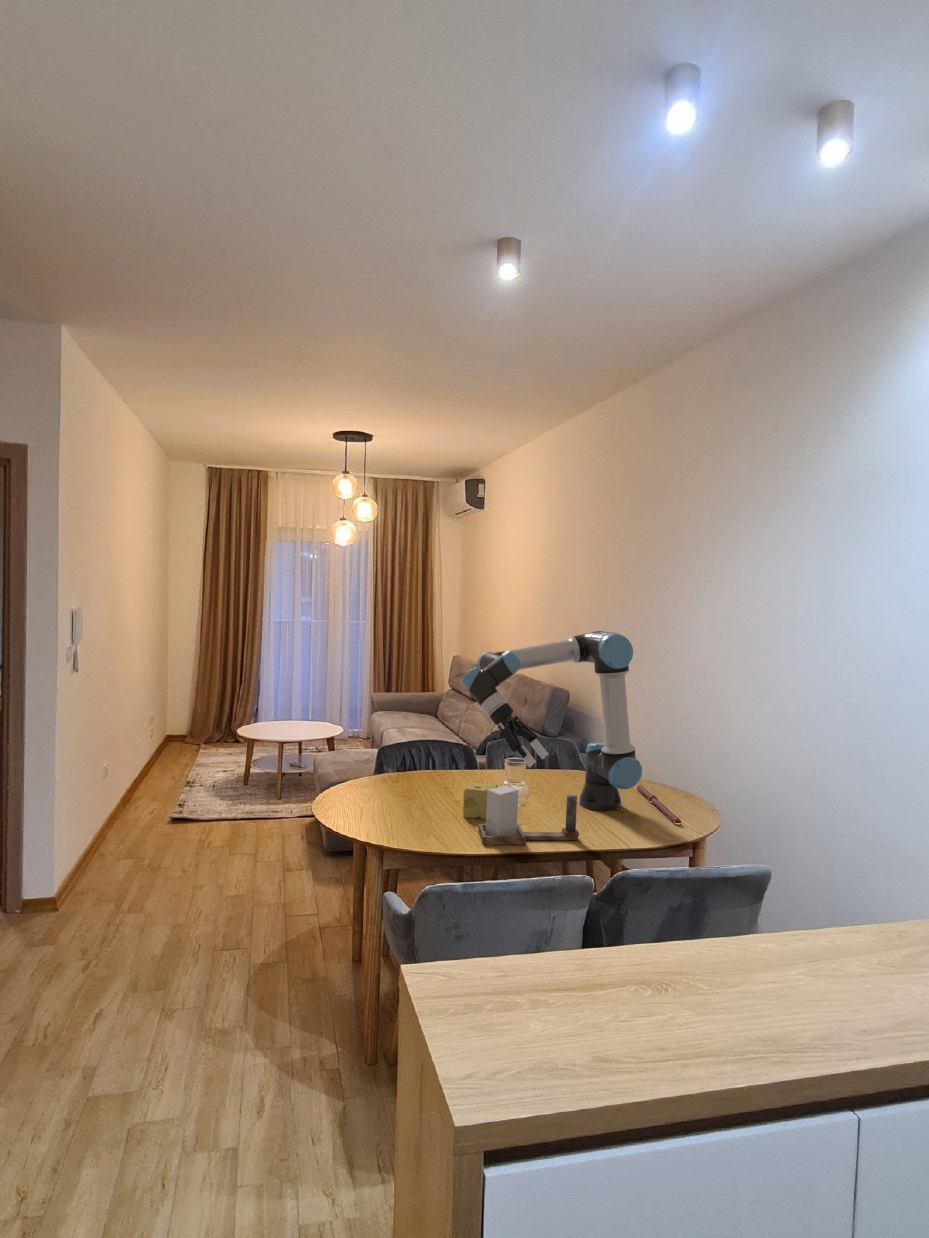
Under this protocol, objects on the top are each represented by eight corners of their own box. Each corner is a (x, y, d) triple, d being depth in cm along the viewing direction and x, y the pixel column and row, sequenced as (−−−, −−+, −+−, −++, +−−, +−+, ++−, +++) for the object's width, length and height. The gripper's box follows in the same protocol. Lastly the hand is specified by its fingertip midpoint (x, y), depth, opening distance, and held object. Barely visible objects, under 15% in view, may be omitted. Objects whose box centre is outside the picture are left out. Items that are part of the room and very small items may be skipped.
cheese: (492, 820, 260) (493, 791, 260) (461, 817, 262) (462, 788, 262) (497, 812, 270) (498, 783, 270) (467, 809, 273) (468, 781, 272)
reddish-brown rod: (635, 791, 307) (635, 783, 307) (643, 791, 307) (643, 783, 307) (673, 826, 262) (673, 817, 262) (682, 826, 262) (682, 817, 262)
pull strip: (572, 831, 251) (574, 790, 250) (581, 844, 238) (583, 801, 237) (478, 830, 248) (479, 789, 247) (482, 844, 235) (484, 800, 234)
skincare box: (503, 833, 247) (505, 785, 247) (518, 838, 242) (520, 789, 242) (484, 838, 242) (486, 788, 241) (498, 843, 237) (500, 793, 236)
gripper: (502, 711, 265) (542, 760, 260) (475, 721, 242) (518, 775, 237) (518, 697, 263) (558, 746, 257) (492, 706, 240) (536, 760, 234)
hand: (539, 760), depth 247 cm, fingers open, 13 cm apart
